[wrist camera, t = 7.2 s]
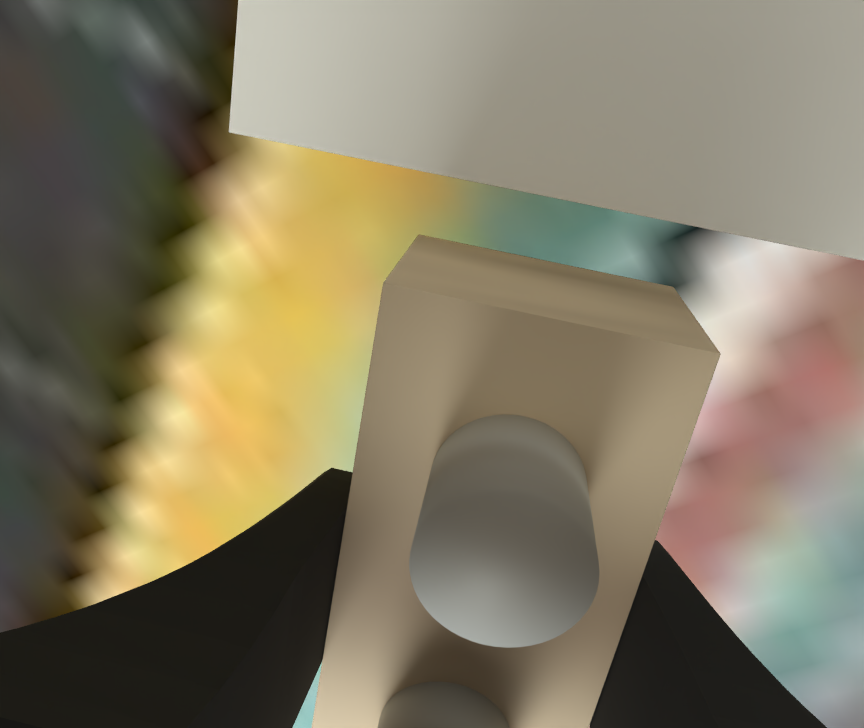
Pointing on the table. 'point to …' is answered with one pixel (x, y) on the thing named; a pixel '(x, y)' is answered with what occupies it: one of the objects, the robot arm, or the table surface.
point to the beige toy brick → (504, 488)
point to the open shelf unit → (582, 101)
